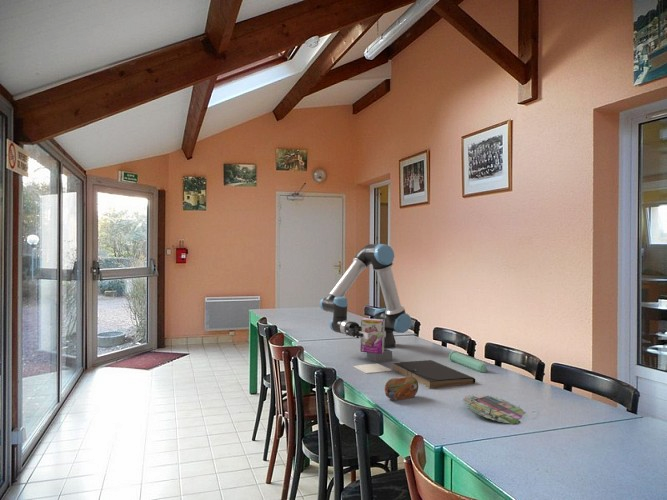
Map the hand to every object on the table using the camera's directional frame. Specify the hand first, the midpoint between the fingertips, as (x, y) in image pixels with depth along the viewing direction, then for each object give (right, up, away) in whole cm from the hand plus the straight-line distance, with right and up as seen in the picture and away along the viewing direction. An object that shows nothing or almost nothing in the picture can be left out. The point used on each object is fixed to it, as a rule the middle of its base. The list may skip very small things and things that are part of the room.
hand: (376, 335), depth 225 cm
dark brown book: (+25, -18, -9) cm, 32 cm away
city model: (+38, -18, -57) cm, 71 cm away
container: (+48, -18, +9) cm, 52 cm away
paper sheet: (-2, -17, +3) cm, 17 cm away
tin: (+6, -18, -42) cm, 46 cm away
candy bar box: (-2, -9, +3) cm, 10 cm away
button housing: (+4, -17, +23) cm, 29 cm away
